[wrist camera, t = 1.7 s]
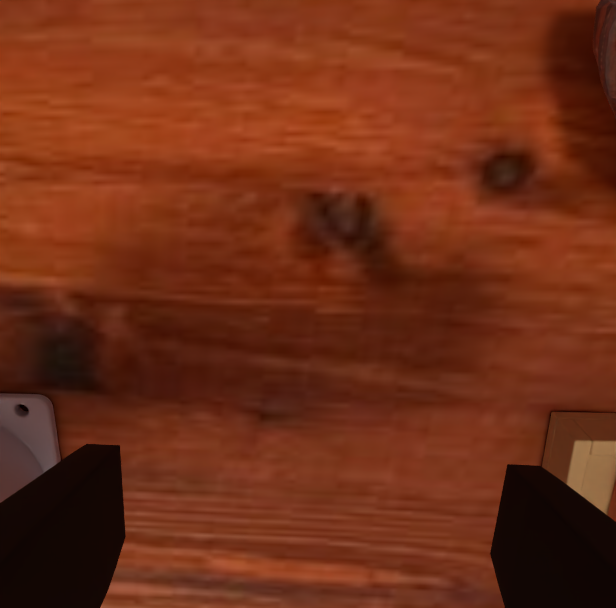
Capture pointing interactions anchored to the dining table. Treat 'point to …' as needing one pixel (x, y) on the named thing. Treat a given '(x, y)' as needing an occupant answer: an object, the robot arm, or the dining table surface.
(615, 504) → the rose pad
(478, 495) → the dining table surface
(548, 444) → the frame
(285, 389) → the dining table surface
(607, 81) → the stone
